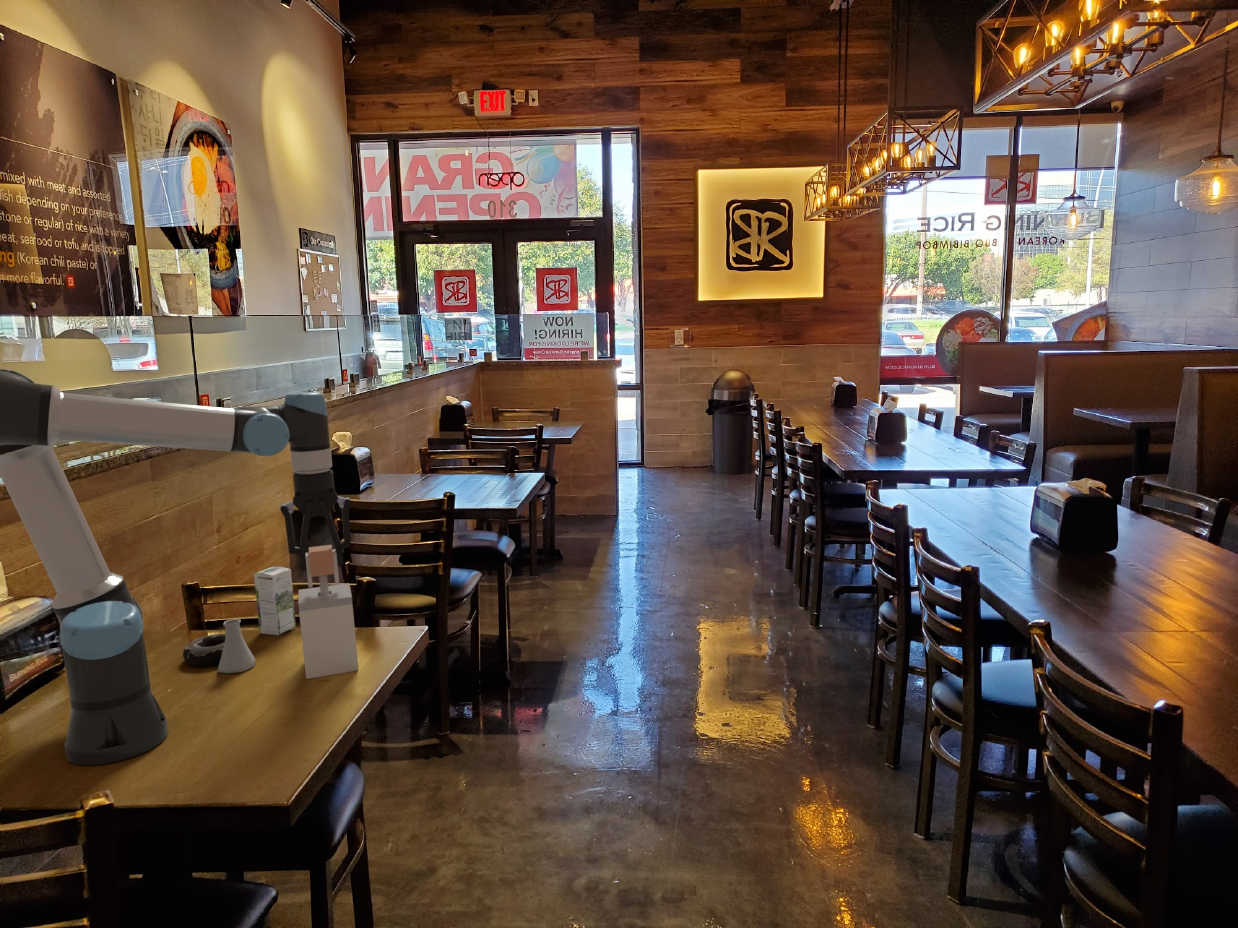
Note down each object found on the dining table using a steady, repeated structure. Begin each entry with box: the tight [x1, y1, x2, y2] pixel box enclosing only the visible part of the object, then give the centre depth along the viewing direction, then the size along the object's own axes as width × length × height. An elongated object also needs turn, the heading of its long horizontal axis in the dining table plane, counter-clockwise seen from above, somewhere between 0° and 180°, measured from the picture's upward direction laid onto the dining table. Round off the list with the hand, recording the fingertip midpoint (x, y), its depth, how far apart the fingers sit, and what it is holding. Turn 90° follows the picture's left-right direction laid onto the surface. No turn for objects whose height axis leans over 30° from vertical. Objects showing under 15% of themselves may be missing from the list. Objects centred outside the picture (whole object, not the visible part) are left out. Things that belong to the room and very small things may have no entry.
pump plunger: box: [308, 544, 335, 596], centre depth 173 cm, size 4×4×20 cm
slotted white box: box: [297, 582, 359, 680], centre depth 174 cm, size 10×10×16 cm
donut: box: [182, 633, 226, 668], centre depth 182 cm, size 12×12×4 cm
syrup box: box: [253, 566, 297, 636], centre depth 196 cm, size 6×6×14 cm
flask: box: [217, 618, 257, 674], centre depth 176 cm, size 7×7×10 cm
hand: (323, 583), depth 173 cm, fingers closed on pump plunger, 4 cm apart
